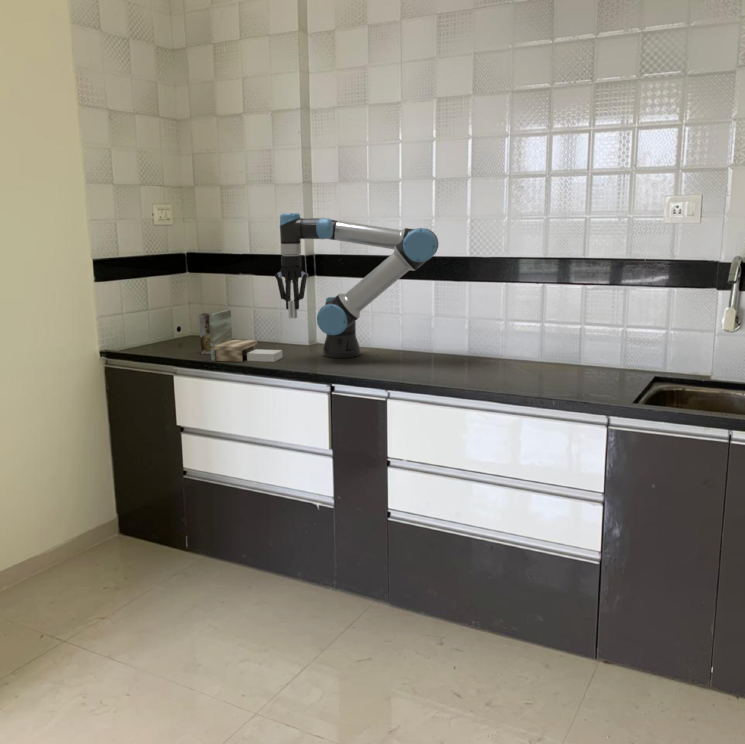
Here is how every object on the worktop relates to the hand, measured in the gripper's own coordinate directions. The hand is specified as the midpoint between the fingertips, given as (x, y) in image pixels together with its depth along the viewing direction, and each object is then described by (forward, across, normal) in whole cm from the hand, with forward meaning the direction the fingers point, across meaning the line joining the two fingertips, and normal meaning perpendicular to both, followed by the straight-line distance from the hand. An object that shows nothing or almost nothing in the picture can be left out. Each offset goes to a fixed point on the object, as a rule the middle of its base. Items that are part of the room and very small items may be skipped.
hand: (292, 317), depth 281 cm
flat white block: (+16, +12, 0) cm, 20 cm away
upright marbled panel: (+16, +24, 0) cm, 29 cm away
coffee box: (+17, +38, -10) cm, 43 cm away
